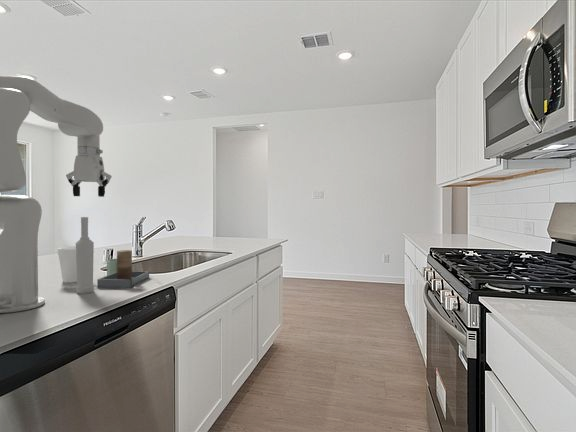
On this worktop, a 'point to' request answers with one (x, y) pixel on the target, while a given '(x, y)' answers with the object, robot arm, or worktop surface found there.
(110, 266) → the deep cup
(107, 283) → the tray
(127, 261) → the walnut peg
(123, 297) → the worktop surface
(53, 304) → the worktop surface
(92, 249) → the bottle
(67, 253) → the foam cup
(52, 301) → the worktop surface
